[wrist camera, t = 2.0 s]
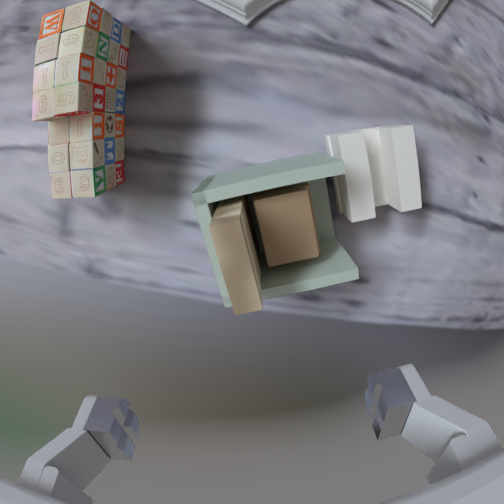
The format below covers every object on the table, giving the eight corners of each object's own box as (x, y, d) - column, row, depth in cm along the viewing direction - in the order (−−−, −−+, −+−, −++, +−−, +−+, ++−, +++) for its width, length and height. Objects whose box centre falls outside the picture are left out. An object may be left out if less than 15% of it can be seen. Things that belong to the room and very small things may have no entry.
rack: (318, 152, 37) (343, 160, 27) (333, 241, 41) (359, 278, 31) (207, 176, 38) (191, 194, 28) (231, 263, 42) (225, 307, 32)
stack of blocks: (126, 183, 38) (81, 205, 27) (86, 184, 38) (35, 207, 27) (131, 28, 30) (89, -2, 19) (90, 36, 30) (41, 14, 19)
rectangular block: (244, 185, 37) (239, 219, 23) (258, 246, 40) (262, 309, 26) (224, 190, 38) (208, 226, 24) (240, 250, 40) (235, 314, 26)
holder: (395, 124, 35) (414, 125, 30) (404, 197, 39) (423, 207, 34) (323, 134, 36) (335, 135, 31) (337, 210, 40) (349, 223, 35)
